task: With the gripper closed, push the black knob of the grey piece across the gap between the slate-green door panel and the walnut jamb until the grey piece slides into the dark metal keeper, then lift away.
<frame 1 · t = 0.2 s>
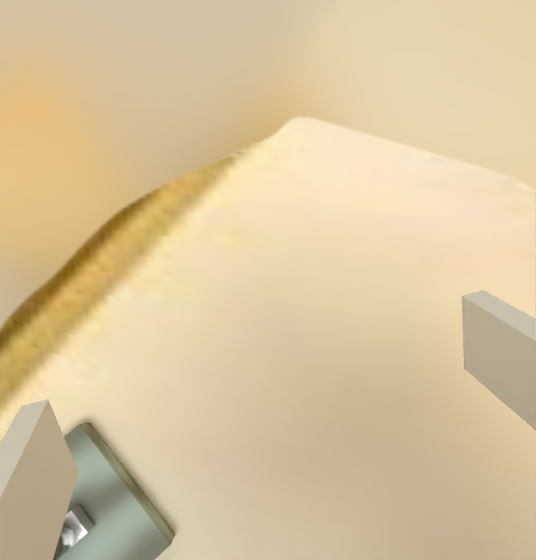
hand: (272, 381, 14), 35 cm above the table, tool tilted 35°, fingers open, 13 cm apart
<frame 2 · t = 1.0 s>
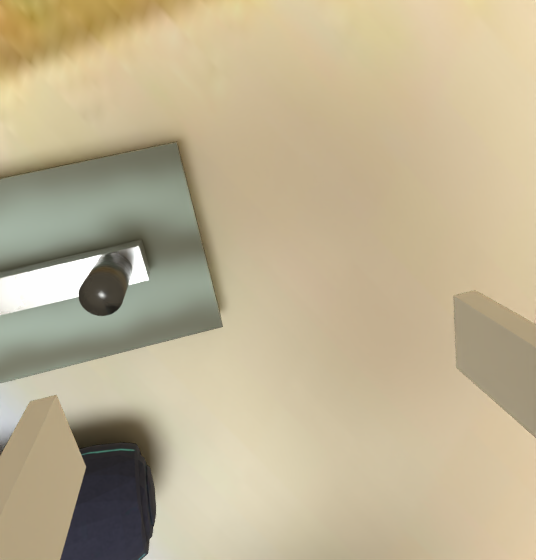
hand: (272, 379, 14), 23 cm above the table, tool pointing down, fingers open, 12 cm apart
portable speaker: (18, 488, 40), on the table
grey piece: (62, 288, 28), point 7 cm above the table, slide at 0.0 cm
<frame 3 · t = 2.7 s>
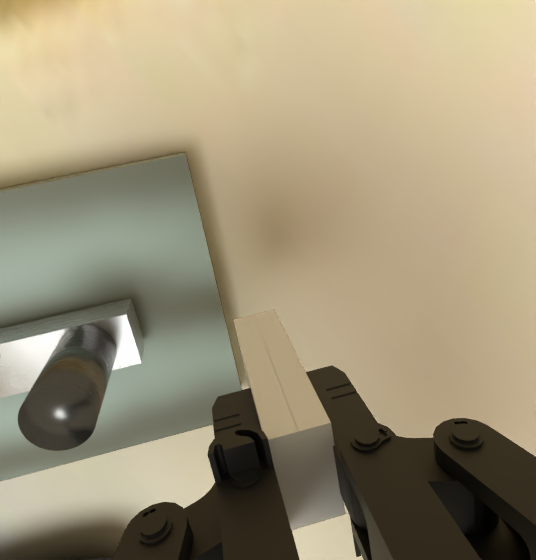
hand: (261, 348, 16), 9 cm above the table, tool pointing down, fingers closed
grey piece: (2, 386, 18), point 7 cm above the table, slide at 0.0 cm
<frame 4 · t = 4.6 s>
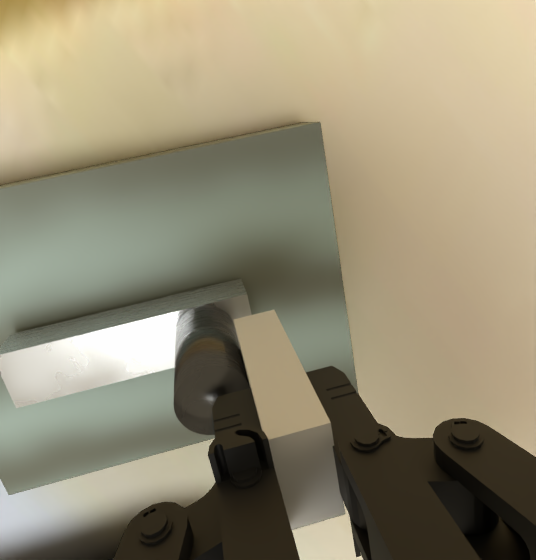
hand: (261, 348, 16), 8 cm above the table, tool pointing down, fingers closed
grey piece: (128, 369, 17), point 7 cm above the table, slide at 0.7 cm, touching gripper
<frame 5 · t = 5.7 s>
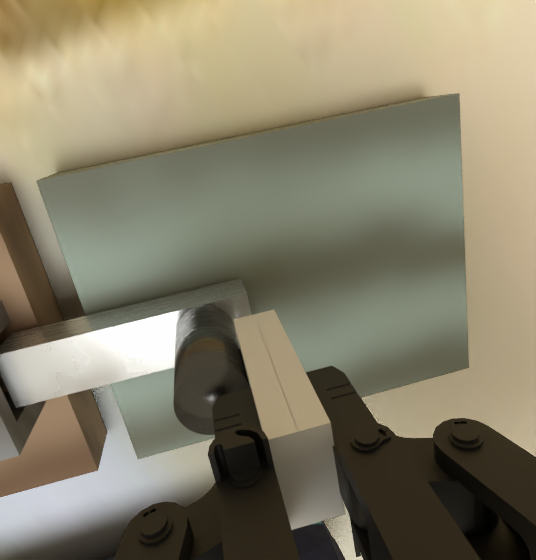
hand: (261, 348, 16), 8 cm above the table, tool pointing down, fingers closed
grey piece: (128, 369, 17), point 7 cm above the table, slide at 7.0 cm, touching gripper
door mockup: (123, 306, 23), on the table
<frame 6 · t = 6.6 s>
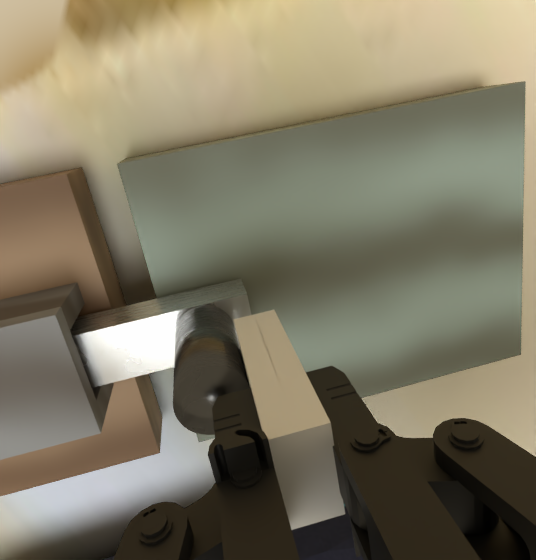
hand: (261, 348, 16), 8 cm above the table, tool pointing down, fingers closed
portable speaker: (186, 554, 29), on the table
grey piece: (127, 369, 17), point 7 cm above the table, slide at 10.2 cm, touching gripper
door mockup: (184, 291, 23), on the table
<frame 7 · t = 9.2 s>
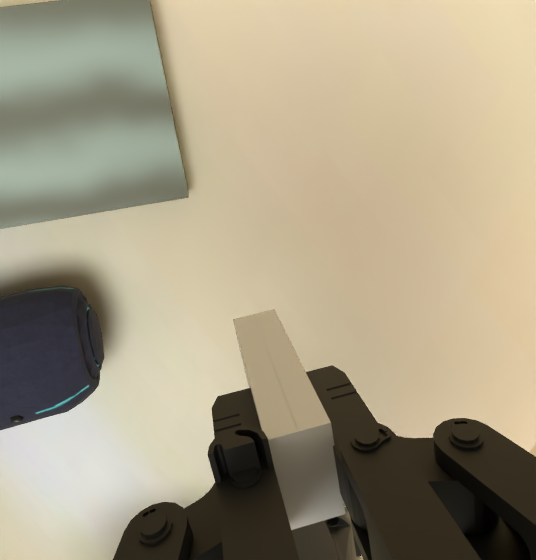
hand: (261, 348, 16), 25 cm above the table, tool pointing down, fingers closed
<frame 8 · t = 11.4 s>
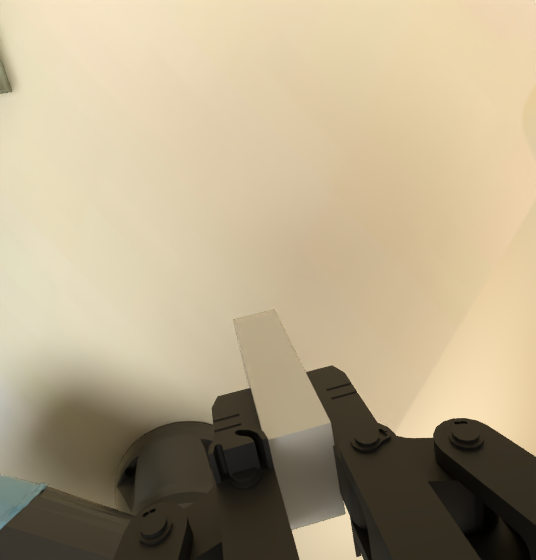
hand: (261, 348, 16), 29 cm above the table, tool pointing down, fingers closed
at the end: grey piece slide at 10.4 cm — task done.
